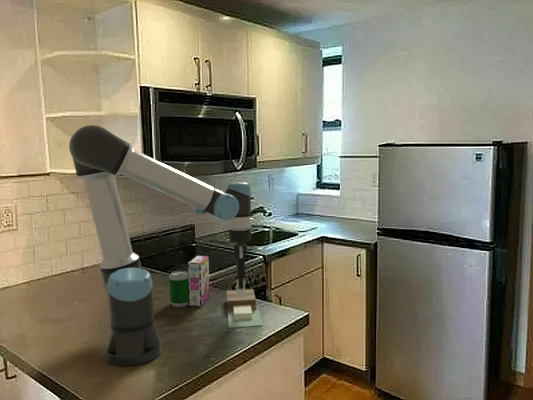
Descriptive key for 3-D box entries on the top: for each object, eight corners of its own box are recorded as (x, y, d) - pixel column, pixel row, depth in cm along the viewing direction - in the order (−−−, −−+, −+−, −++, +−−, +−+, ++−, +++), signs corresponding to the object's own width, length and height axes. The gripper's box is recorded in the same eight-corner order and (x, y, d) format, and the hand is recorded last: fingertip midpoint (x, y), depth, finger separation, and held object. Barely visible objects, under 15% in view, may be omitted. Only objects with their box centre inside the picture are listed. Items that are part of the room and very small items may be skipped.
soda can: (189, 307, 165) (187, 275, 164) (168, 308, 165) (166, 276, 164) (192, 300, 173) (191, 269, 171) (172, 301, 173) (171, 270, 171)
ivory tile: (252, 318, 153) (252, 313, 153) (234, 319, 152) (234, 314, 152) (250, 310, 161) (250, 304, 160) (233, 311, 160) (233, 305, 160)
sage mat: (262, 325, 147) (262, 324, 147) (228, 328, 146) (228, 327, 146) (258, 310, 161) (258, 309, 161) (227, 312, 160) (227, 311, 160)
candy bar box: (202, 307, 166) (200, 262, 164) (188, 306, 167) (187, 262, 165) (210, 296, 177) (208, 255, 175) (198, 296, 178) (196, 255, 176)
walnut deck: (256, 310, 161) (255, 299, 161) (227, 312, 160) (227, 301, 160) (253, 299, 173) (253, 289, 172) (226, 300, 172) (226, 290, 171)
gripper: (252, 231, 147) (253, 302, 150) (249, 224, 160) (250, 290, 163) (229, 232, 146) (230, 303, 149) (228, 225, 159) (229, 291, 162)
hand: (240, 296), depth 156 cm, fingers closed
